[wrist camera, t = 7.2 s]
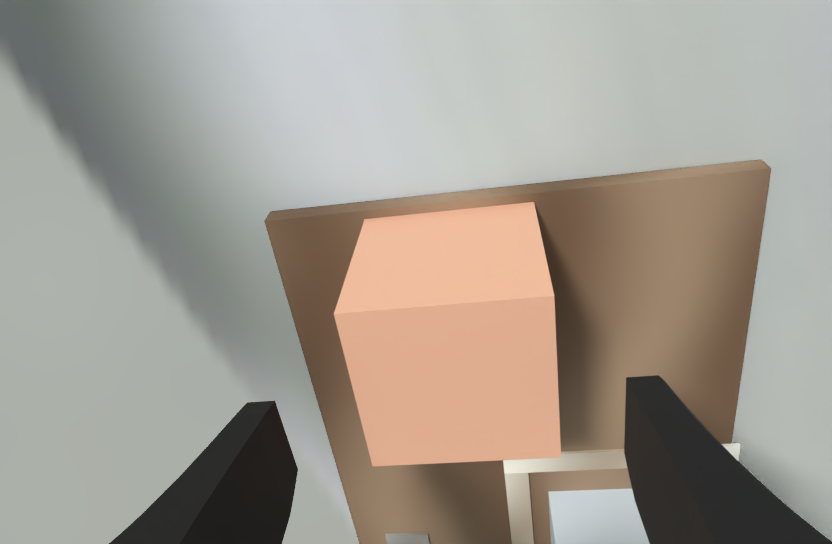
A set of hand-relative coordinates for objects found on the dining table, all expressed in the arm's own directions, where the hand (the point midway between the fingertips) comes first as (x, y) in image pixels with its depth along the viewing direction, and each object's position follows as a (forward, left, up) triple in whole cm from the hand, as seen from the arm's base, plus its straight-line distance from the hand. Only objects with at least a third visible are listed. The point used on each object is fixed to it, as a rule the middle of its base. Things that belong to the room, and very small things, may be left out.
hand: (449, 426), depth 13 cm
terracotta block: (0, 0, -6) cm, 6 cm away
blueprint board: (-2, +6, -6) cm, 9 cm away
